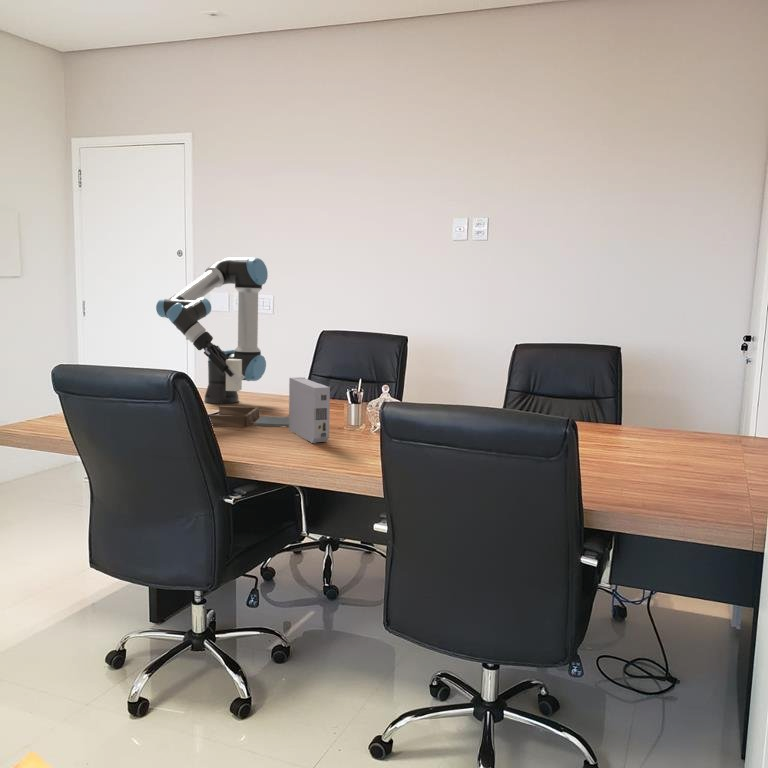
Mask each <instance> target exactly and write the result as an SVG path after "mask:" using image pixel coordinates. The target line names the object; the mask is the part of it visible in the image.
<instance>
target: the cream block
mask: <svg viewBox="0 0 768 768" xmlns="http://www.w3.org/2000/svg"><path fill="white" fill-rule="evenodd" d="M226 364H227V366H228V367H230V368H231V369H232V370H233V371H234V372H235V373H236V374H237V375H238V376H239V377H240V378H241V380H240V381H239V382H238V383H237V384H235V382H234V381H233V380H232V379H231V378H230V377H229V376H228V375H227V374H226V391H237V392H240V391H241V390H243V387H242V386H243V385H242V384H243V382H242V381H243V380H242V359H227V360H226Z"/></svg>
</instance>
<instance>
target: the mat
mask: <svg viewBox="0 0 768 768" xmlns="http://www.w3.org/2000/svg"><path fill="white" fill-rule="evenodd" d="M252 423H253V425H256V427H257V426H259V427H276V426H288V427H287V428H289V416H286V417H285V416H271V415H270V416H267V415H266V416H265V415H262V416H259V418H257V419H256V420H255V421H254V422H252ZM253 425H252V426H253Z"/></svg>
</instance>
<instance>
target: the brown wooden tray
mask: <svg viewBox="0 0 768 768" xmlns="http://www.w3.org/2000/svg"><path fill="white" fill-rule="evenodd" d="M218 412H219V413H218V414H208V415H209V417H210V419H211V422H212V424H213V427H234V426H238V427H239V428H240V427H241V428H247V427H249V426H250V425H251V424H252V423H254V422H255V421H256V420H258V419H259V418H260V407H258V406H236V405H235V406H230V405H219V407H218ZM258 417H259V418H258ZM253 421H254V422H253ZM248 425H249V426H248Z"/></svg>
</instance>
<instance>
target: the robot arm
mask: <svg viewBox="0 0 768 768" xmlns="http://www.w3.org/2000/svg"><path fill="white" fill-rule="evenodd" d="M268 276H269V275H268V268H267V266H266V264H265V262H264V261H263V260H262V259H261V258H259V257H252V256H249V257H247V256H245V257H244V256H243V257H241V256H240V257H239V256H238V257H236V256H235V257H234V256H231V257H226V258H223V259H220V260H218V261H216V262H215V263H212V264H211V265H210V266H208V267H207V268H206V269H205V270H204V273H203V274H201V275H199V277H197V278H196V279H195V280H194V281H192V282H190V283H189V284H188V285H186V286H185V287H184V288H182V289H181V290H179V291H178V292H177V293H175V294H174V295H172V296H171V297H170V298H161V299H159V300H158V301H157V303H156V305H155V309H156V314H157V315H158V316H159V317H161V318H167V319H168V320H169V321H170V322H171V324H173V325H174V326H175V327H176V328H177V330H179V331H180V332H181V333H182V334H183V336H184V337H185V339H186V341H187V340H189V342H190V343H192V345H193V346H194V347H195V348H196V350H197V351H202V350H204V351H203V354H204V355H206V357H207V358H208V360H207V365H208V367H207V371H208V372H207V373H208V374H207V375H208V376H207V377H208V382H207V383H208V384H207V389H206V390H205V393H204V402H205V403H207V404H233V403H238V402H239V399H240V397H239V393H238V391H226V374H227V375H228V376H229V377H230V378H231V379H232V380H233V381H234V382H235V384H237V383H238V382H239V381H240V380H241V378H240V377H239V376H238V375H237V374H236V373H235V372H234V371H233V370H232V369H231V368H230V367H228V366H227V364H226V360H227V359H242V381H245V382H246V381H247V382H257V381H258V380H260V379H261V378H262V377H263V375H264V374H265V371H266V368H267V361H266V359H265V357H264V356H263V354H262V352H261V349H260V348H259V347H258V339H259V338H258V336H259V335H258V334H259V333H258V329H259V328H258V327H259V294H260V293H259V292H260V291H262V289H263V288H262V287H263V285H265V284H266V282H267V280H268ZM231 284H232V285H234V288H235V290H237V292H238V297H237V298H238V299H237V300H238V303H237V304H238V305H237V306H238V309H237V311H238V312H237V313H238V314H237V315H238V316H237V319H238V320H237V347H236V348H234V349H226V350H223V349H221V348H220V346H219V345H216V344H214V343H212V341H213V339H214V337H213V336H212V335H211V334H210V333H209V332H208V331H206V328H205V327H204V326H203V325H202V324H201V323H200V322H199V321H200V320H202V319H204V318H206V316H208V315H210V314H211V312H212V304H211V302H210V300H208V299H207V298H206V297H205V296H206V295H208V294H209V293H210V292H211V291H213V290H214V289H215V288H221V287H223V285H231Z"/></svg>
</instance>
